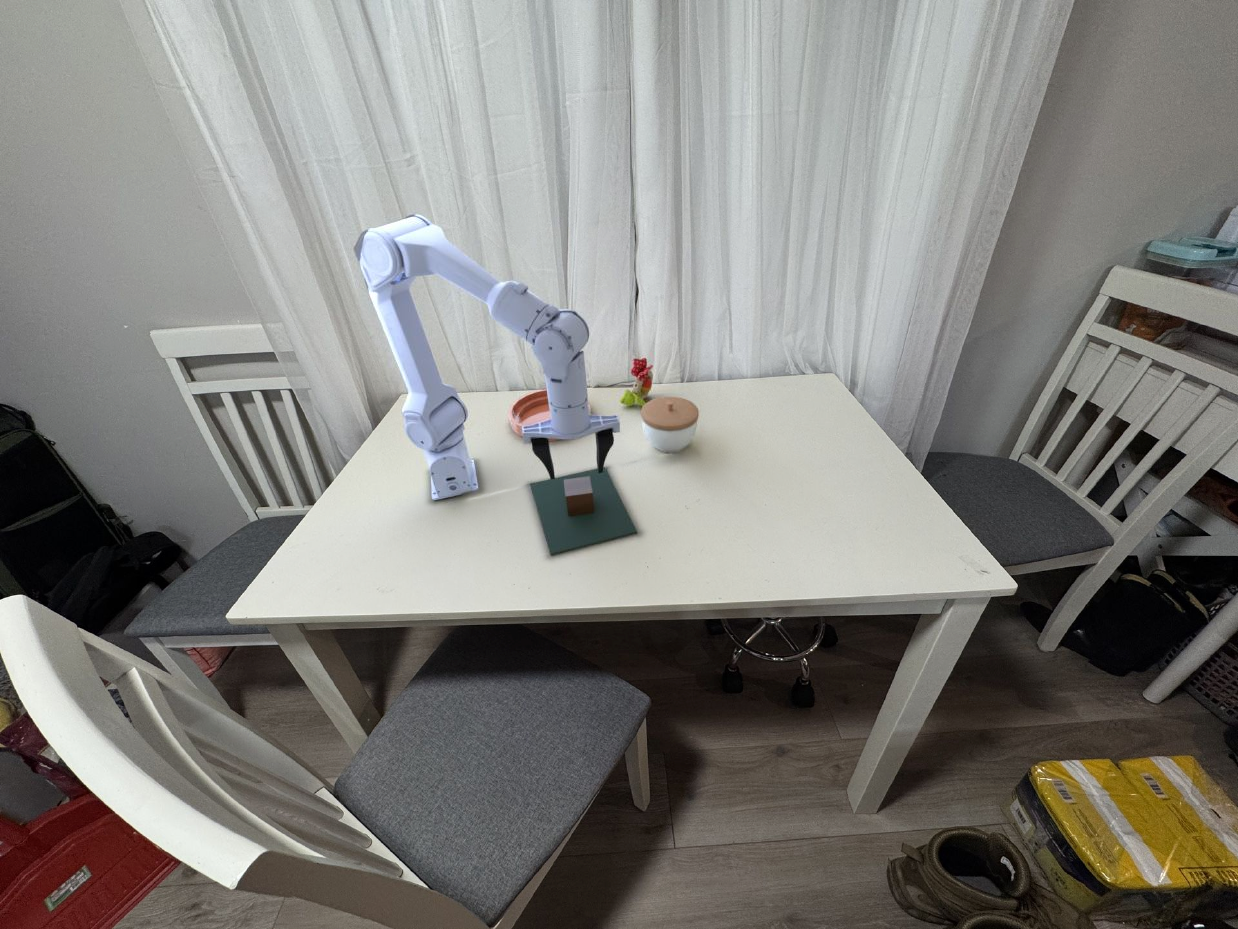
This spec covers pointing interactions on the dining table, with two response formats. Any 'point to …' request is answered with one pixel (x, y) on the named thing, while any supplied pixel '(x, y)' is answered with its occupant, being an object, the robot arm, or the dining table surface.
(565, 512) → the mat
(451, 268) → the robot arm
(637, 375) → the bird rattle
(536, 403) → the round pink tray
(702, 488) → the dining table surface
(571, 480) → the block
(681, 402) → the trinket box
